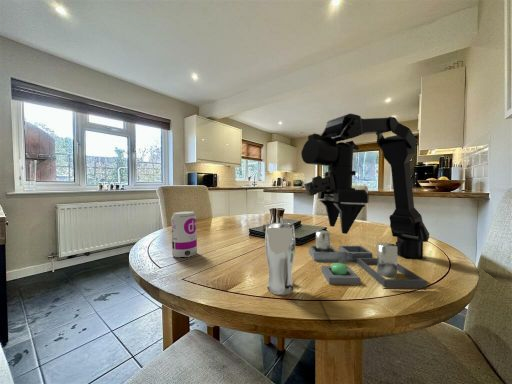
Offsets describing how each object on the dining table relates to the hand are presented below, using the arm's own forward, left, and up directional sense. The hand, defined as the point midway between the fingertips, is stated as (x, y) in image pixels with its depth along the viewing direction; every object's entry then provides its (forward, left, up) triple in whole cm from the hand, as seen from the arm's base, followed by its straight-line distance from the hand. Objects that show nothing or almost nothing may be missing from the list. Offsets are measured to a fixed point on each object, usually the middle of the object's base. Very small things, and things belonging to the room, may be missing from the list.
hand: (337, 229), depth 52 cm
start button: (0, 0, -11) cm, 11 cm away
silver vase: (+15, +4, -13) cm, 20 cm away
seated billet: (0, -15, -12) cm, 19 cm away
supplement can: (+47, -19, -13) cm, 52 cm away
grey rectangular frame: (-13, -2, -13) cm, 19 cm away
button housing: (0, 0, -13) cm, 13 cm away
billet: (-13, -2, -13) cm, 18 cm away
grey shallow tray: (-5, -15, -13) cm, 20 cm away
